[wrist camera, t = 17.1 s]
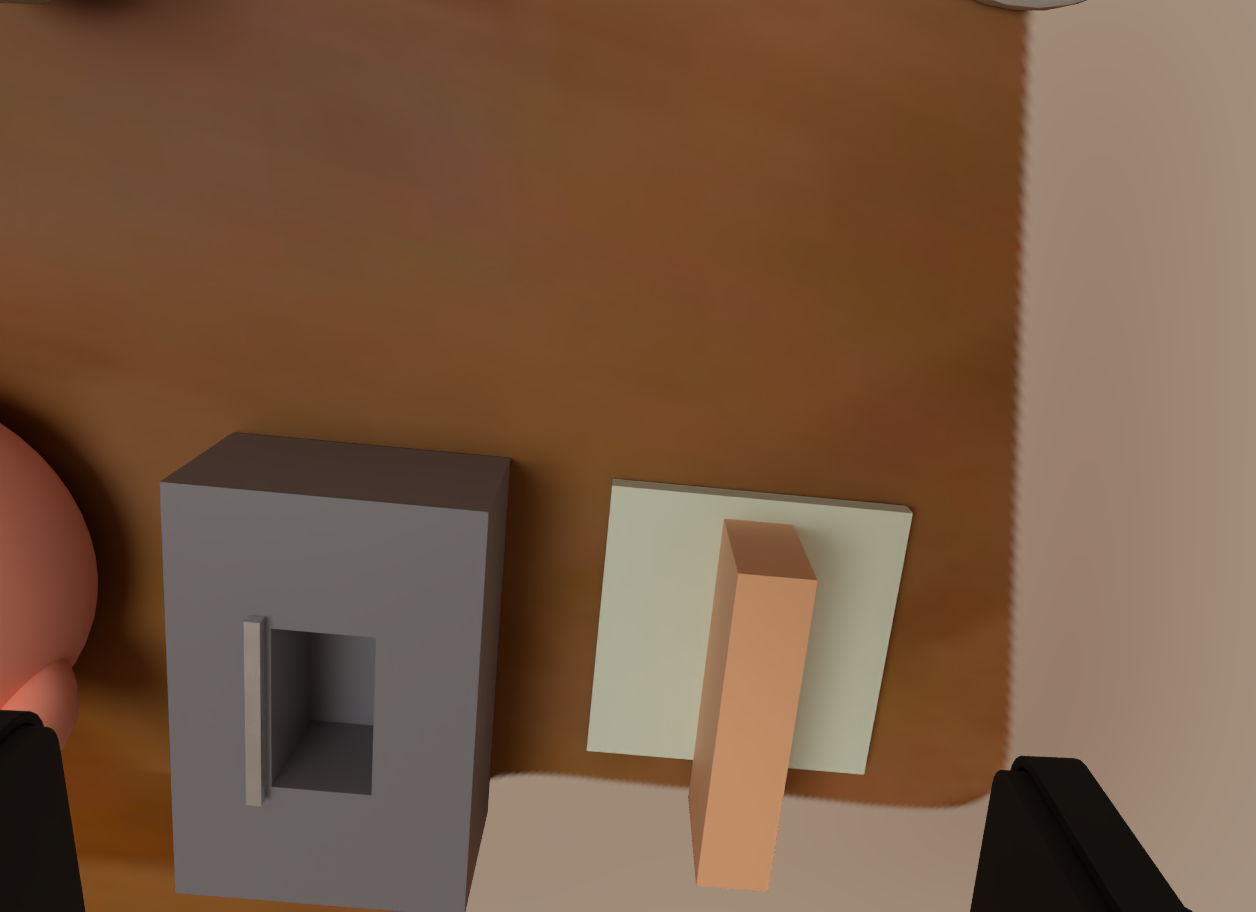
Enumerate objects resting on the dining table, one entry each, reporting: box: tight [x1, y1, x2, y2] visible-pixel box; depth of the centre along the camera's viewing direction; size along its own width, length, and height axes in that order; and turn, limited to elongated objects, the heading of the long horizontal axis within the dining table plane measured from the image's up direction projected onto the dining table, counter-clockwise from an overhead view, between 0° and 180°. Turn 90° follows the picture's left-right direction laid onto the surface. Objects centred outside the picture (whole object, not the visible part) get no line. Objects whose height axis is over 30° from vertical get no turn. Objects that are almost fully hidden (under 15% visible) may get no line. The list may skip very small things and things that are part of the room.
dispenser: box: [160, 432, 511, 912], centre depth 42 cm, size 12×18×8 cm, turn 175°
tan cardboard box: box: [688, 519, 818, 892], centre depth 42 cm, size 3×6×14 cm
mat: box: [587, 479, 913, 775], centre depth 45 cm, size 13×13×1 cm
